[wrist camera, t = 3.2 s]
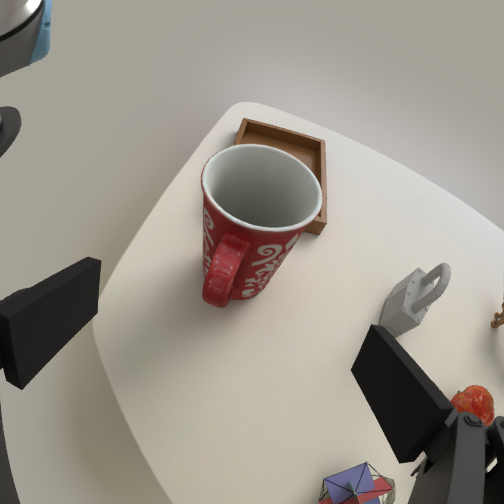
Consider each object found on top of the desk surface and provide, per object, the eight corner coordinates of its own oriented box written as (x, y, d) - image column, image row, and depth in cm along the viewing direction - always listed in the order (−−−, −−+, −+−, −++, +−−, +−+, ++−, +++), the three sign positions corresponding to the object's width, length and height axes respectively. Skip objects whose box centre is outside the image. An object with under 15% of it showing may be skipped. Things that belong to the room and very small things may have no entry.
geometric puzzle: (309, 542, 16) (390, 536, 12) (288, 491, 19) (373, 480, 15) (341, 507, 22) (410, 494, 18) (324, 461, 25) (394, 444, 21)
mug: (217, 222, 35) (234, 129, 24) (287, 255, 34) (333, 172, 23) (161, 311, 28) (145, 235, 17) (244, 353, 28) (285, 304, 16)
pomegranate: (427, 392, 30) (436, 443, 21) (470, 358, 28) (492, 404, 19) (450, 418, 29) (460, 467, 20) (490, 388, 27) (510, 433, 18)
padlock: (393, 281, 36) (441, 241, 27) (414, 299, 35) (464, 263, 27) (374, 322, 32) (428, 286, 24) (397, 341, 31) (454, 310, 23)
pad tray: (214, 208, 36) (216, 194, 34) (240, 129, 46) (243, 117, 43) (319, 235, 37) (326, 223, 35) (320, 151, 47) (325, 140, 44)
